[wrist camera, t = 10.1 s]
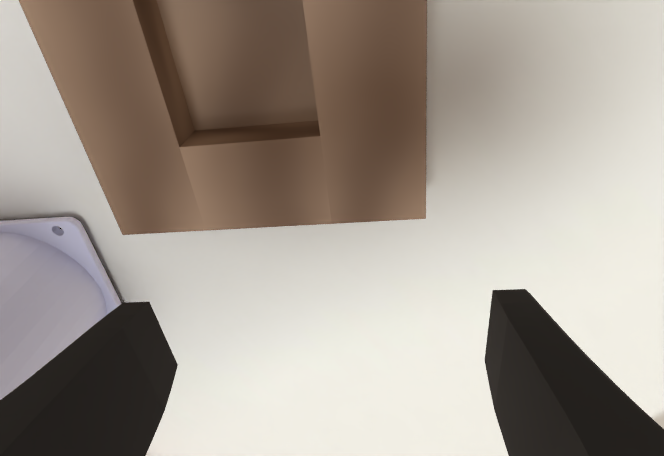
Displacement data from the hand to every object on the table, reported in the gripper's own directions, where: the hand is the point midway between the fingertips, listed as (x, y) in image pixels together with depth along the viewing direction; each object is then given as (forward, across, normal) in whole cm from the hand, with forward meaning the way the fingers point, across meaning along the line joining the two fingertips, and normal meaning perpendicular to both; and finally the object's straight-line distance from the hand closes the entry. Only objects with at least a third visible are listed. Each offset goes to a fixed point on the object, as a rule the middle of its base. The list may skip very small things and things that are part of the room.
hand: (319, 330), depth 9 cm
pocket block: (+9, +3, -4) cm, 11 cm away
